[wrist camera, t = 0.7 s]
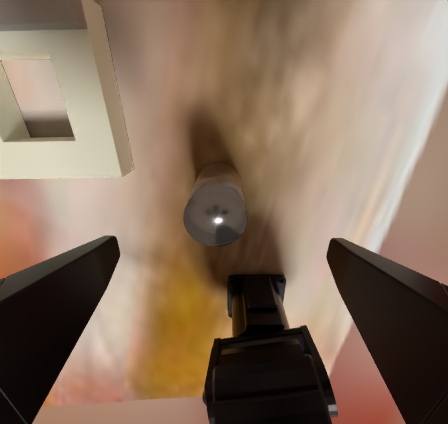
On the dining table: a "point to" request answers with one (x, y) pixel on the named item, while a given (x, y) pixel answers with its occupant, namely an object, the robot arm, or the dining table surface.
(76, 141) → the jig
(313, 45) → the dining table surface
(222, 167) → the metal cylinder rod
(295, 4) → the dining table surface
